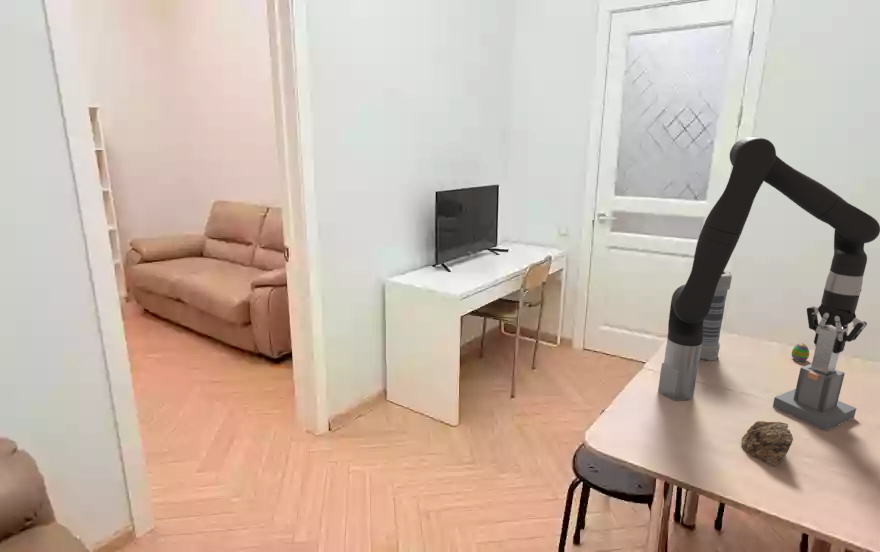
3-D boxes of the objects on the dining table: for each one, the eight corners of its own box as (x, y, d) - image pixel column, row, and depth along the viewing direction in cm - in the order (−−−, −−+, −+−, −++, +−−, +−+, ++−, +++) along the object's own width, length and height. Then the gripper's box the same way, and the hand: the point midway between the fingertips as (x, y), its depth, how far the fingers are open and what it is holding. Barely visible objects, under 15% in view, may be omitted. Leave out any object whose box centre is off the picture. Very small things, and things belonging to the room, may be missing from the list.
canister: (720, 362, 178) (735, 277, 170) (687, 358, 181) (700, 274, 172) (715, 350, 188) (729, 269, 179) (684, 346, 190) (696, 266, 182)
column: (820, 401, 145) (836, 334, 139) (803, 394, 149) (818, 328, 143) (829, 397, 147) (846, 330, 141) (812, 390, 151) (828, 325, 145)
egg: (806, 358, 182) (809, 342, 180) (808, 364, 178) (812, 347, 176) (789, 355, 184) (792, 339, 182) (791, 361, 180) (795, 345, 178)
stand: (825, 431, 140) (836, 387, 136) (772, 406, 152) (781, 365, 148) (853, 417, 147) (865, 375, 143) (801, 394, 158) (810, 355, 154)
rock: (786, 446, 136) (742, 433, 141) (793, 415, 134) (748, 404, 139) (786, 473, 124) (738, 458, 129) (794, 440, 122) (744, 426, 127)
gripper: (805, 283, 143) (792, 342, 148) (866, 299, 131) (849, 363, 136) (821, 280, 146) (807, 337, 151) (881, 295, 134) (865, 357, 139)
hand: (827, 349), depth 144 cm, fingers closed on column, 4 cm apart
